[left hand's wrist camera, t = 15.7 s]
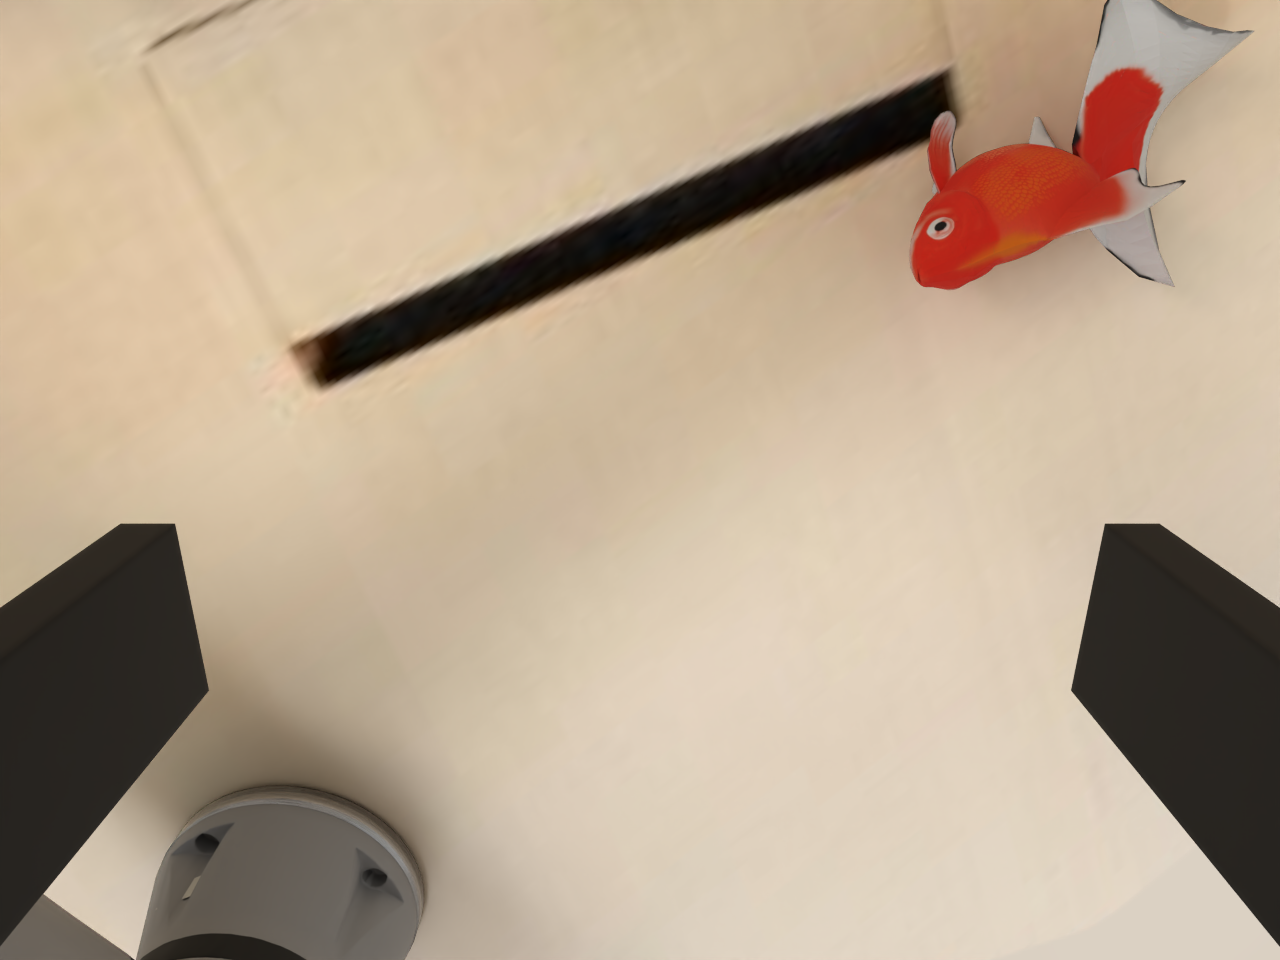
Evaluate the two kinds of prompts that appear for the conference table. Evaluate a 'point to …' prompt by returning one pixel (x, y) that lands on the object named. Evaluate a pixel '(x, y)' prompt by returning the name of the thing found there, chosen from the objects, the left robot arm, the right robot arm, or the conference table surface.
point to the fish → (1070, 159)
